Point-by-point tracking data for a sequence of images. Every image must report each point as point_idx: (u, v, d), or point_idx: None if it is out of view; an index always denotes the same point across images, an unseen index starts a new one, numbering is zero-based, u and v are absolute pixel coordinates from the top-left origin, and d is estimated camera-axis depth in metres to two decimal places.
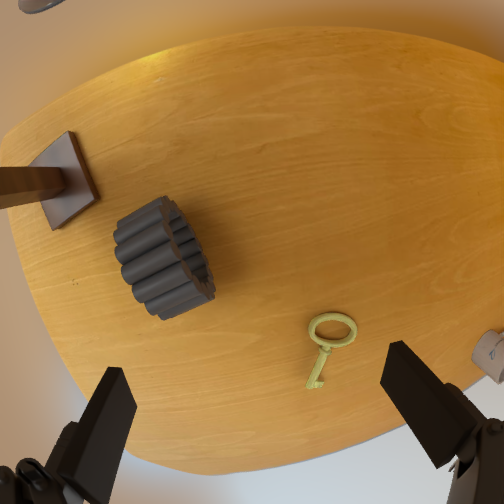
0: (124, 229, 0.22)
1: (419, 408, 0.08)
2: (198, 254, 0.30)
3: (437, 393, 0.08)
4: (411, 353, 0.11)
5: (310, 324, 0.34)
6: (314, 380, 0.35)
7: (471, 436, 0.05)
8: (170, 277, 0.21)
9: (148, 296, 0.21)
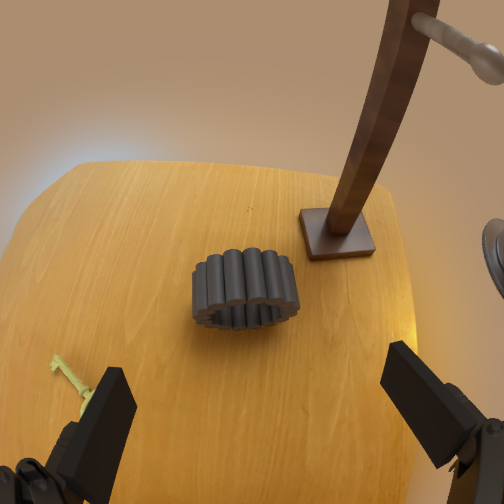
0: (287, 267, 0.27)
1: (419, 408, 0.08)
2: (231, 324, 0.31)
3: (437, 393, 0.08)
4: (412, 353, 0.11)
5: None
6: (60, 364, 0.27)
7: (471, 436, 0.05)
8: (237, 286, 0.24)
9: (227, 260, 0.25)
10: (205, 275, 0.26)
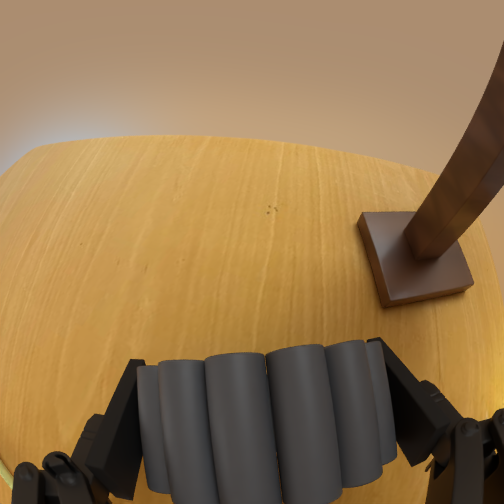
0: (383, 372, 0.09)
1: (394, 405, 0.09)
2: None
3: (410, 390, 0.08)
4: (388, 349, 0.11)
5: None
6: None
7: (445, 435, 0.06)
8: (254, 480, 0.05)
9: (219, 395, 0.07)
10: (159, 407, 0.08)
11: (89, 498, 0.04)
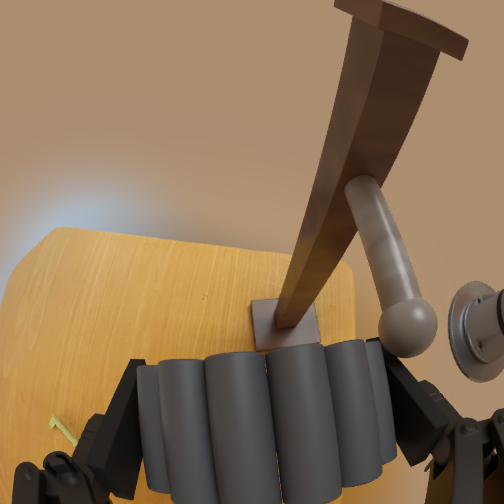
0: (383, 372, 0.09)
1: (393, 405, 0.09)
2: None
3: (409, 390, 0.08)
4: None
5: None
6: (56, 424, 0.29)
7: (444, 435, 0.06)
8: (254, 479, 0.05)
9: (219, 394, 0.07)
10: (159, 406, 0.08)
11: (90, 498, 0.04)
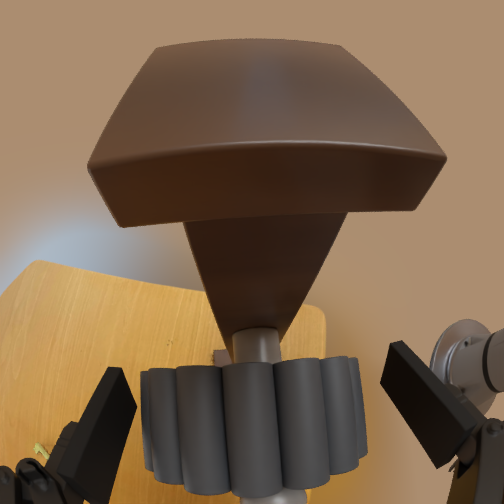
0: (359, 383, 0.11)
1: (419, 408, 0.08)
2: None
3: (437, 393, 0.08)
4: (411, 353, 0.11)
5: None
6: (40, 450, 0.27)
7: (471, 436, 0.05)
8: (265, 466, 0.07)
9: (239, 396, 0.08)
10: (172, 405, 0.09)
11: (61, 503, 0.04)
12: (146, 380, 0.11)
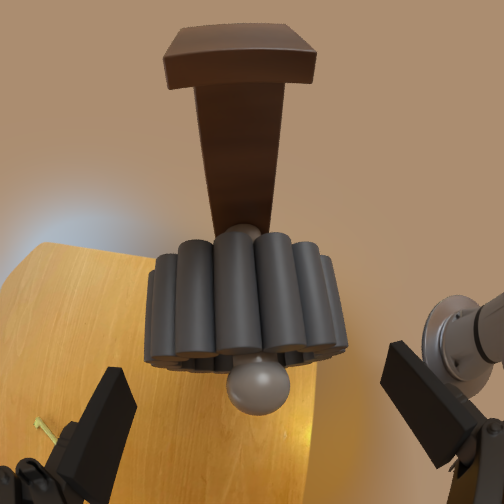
0: (333, 277, 0.14)
1: (419, 408, 0.08)
2: (213, 366, 0.17)
3: (437, 393, 0.08)
4: (411, 353, 0.11)
5: None
6: (40, 424, 0.30)
7: (472, 436, 0.05)
8: (245, 315, 0.10)
9: (224, 255, 0.11)
10: (172, 282, 0.12)
11: (61, 503, 0.04)
12: (153, 276, 0.14)
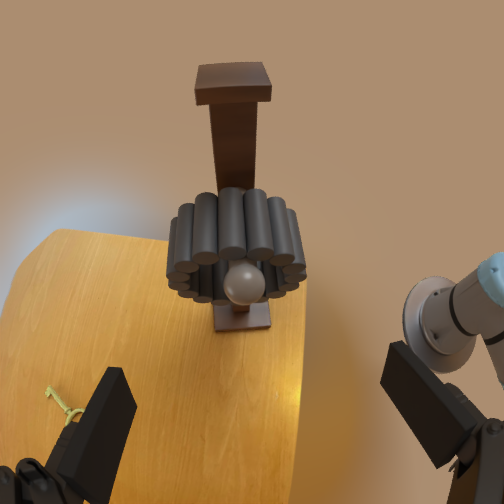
0: (295, 222, 0.21)
1: (419, 408, 0.08)
2: (212, 295, 0.24)
3: (437, 393, 0.08)
4: (411, 353, 0.11)
5: None
6: (51, 393, 0.37)
7: (471, 436, 0.05)
8: (236, 230, 0.17)
9: (225, 199, 0.19)
10: (191, 219, 0.20)
11: (61, 503, 0.04)
12: (175, 221, 0.21)
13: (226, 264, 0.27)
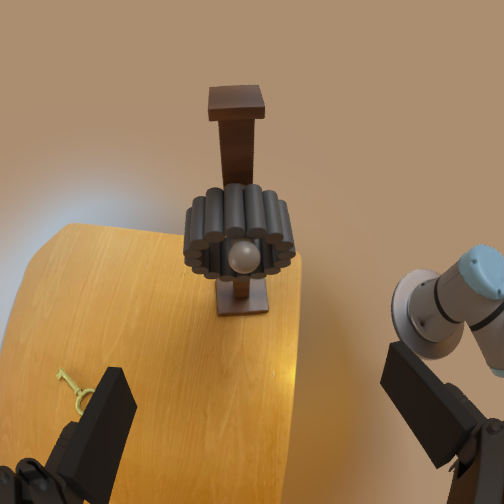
0: (286, 210, 0.27)
1: (419, 408, 0.08)
2: (219, 272, 0.30)
3: (437, 393, 0.08)
4: (411, 353, 0.11)
5: None
6: (63, 374, 0.43)
7: (472, 436, 0.05)
8: (237, 215, 0.23)
9: (229, 192, 0.24)
10: (202, 208, 0.25)
11: (61, 503, 0.04)
12: (189, 211, 0.27)
13: None
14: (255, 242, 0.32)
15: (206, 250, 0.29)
